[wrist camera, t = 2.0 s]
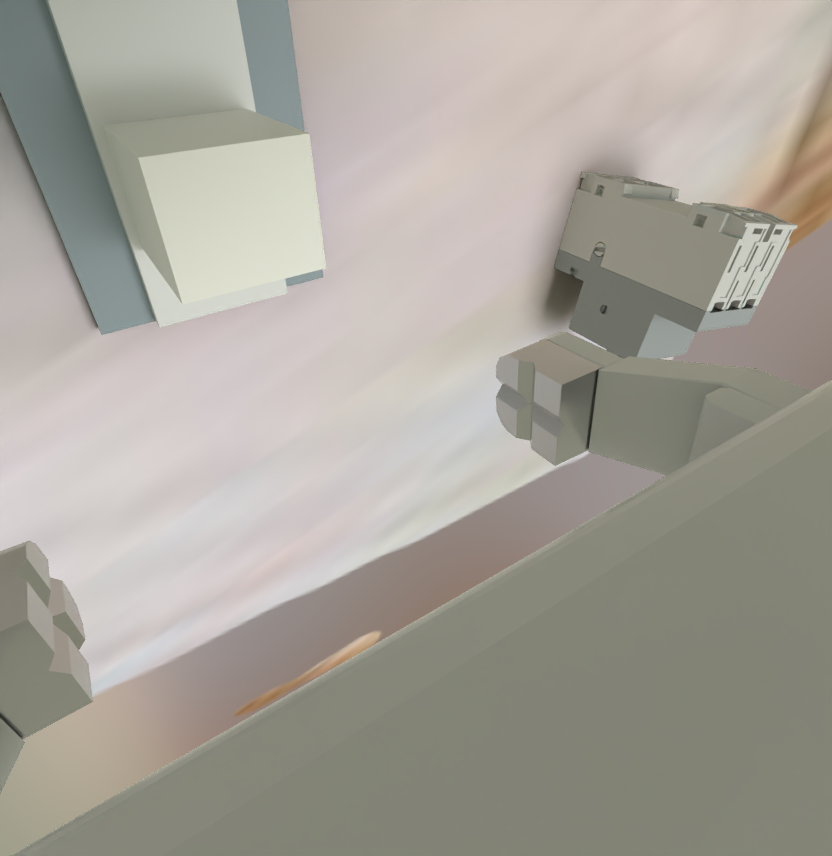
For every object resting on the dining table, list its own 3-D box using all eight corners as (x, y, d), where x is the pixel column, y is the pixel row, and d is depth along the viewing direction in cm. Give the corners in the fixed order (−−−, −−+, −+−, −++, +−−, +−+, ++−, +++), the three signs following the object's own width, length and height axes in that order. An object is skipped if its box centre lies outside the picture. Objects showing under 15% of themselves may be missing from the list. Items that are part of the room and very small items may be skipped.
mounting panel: (-284, -587, 15) (-473, -1036, 9) (220, -437, 21) (340, -637, 14) (98, 328, 33) (133, 412, 26) (317, 272, 38) (391, 329, 32)
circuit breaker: (535, 329, 54) (664, 403, 44) (581, 171, 47) (748, 218, 37) (586, 323, 58) (714, 390, 49) (636, 177, 51) (799, 221, 41)
